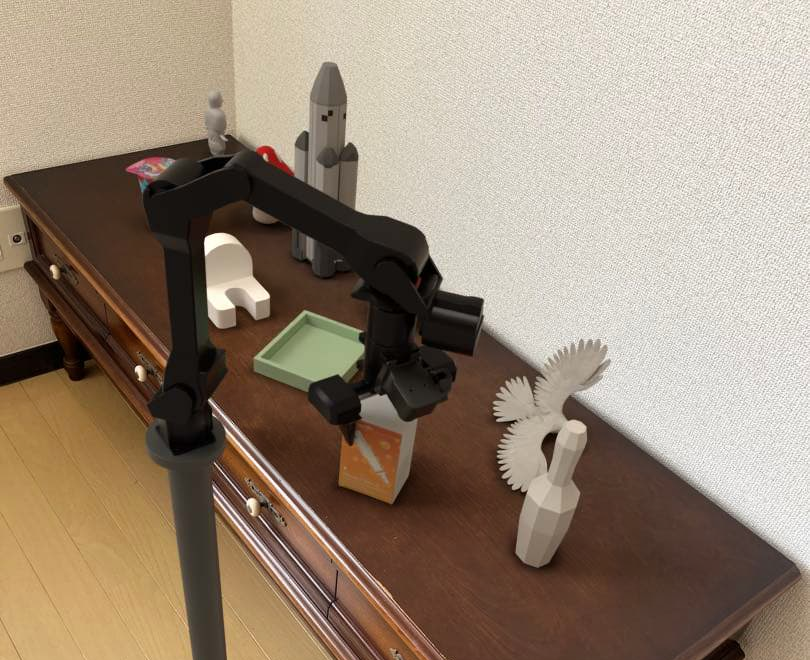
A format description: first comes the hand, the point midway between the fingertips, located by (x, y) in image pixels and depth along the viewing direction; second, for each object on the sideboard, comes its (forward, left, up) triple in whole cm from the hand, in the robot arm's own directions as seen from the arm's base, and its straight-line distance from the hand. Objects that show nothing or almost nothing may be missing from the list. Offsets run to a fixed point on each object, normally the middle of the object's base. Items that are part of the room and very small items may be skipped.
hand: (379, 432), depth 106 cm
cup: (+2, +75, -9) cm, 76 cm away
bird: (+23, -5, -9) cm, 25 cm away
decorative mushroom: (+21, +70, -9) cm, 74 cm away
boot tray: (+7, +27, -9) cm, 29 cm away
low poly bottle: (+11, -21, -9) cm, 25 cm away
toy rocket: (+23, +52, -9) cm, 58 cm away
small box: (0, 0, -9) cm, 9 cm away
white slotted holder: (+2, +50, -9) cm, 51 cm away
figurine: (+24, +97, -9) cm, 100 cm away
